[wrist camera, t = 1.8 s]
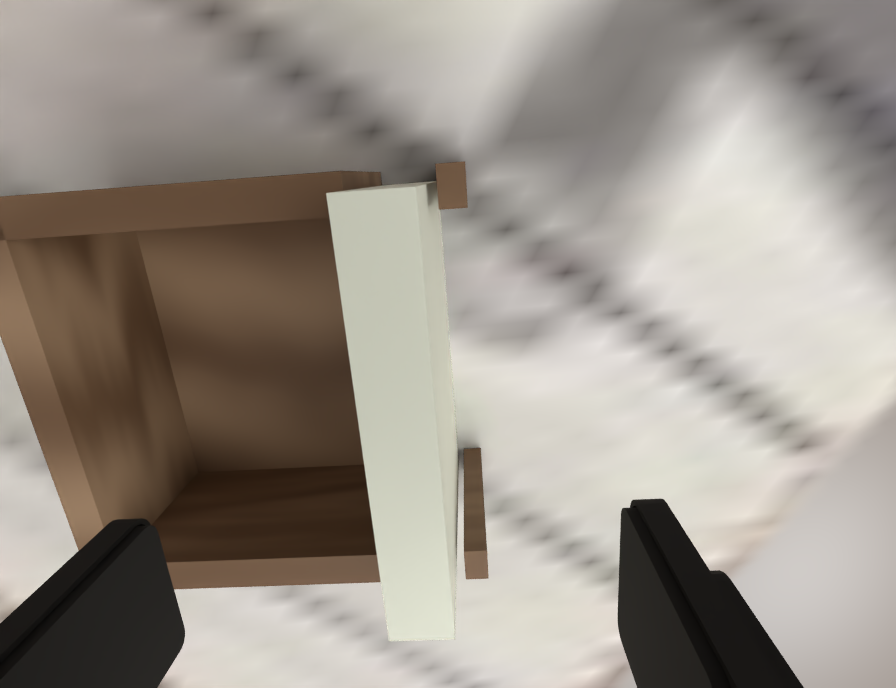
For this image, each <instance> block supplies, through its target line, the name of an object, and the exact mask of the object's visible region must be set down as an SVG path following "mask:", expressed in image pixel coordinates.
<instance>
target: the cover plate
mask: <svg viewBox="0 0 896 688" xmlns="http://www.w3.org/2000/svg"><path fill="white" fill-rule="evenodd" d="M326 196H327V203H328V210H329V217H330V225H331V232H332V239H333V246H334V253H335V260H336V267H337V274H338V282H339V289H340V296H341V303H342V310H343V317H344V324H345V331H346V339H347V346H348V353H349V360H350V367H351V374H352V381H353V388H354V396H355V403H356V410H357V417H358V424H359V431H360V438H361V445H362V453H363V460H364V467H365V474H366V481H367V488H368V495H369V502H370V510H371V517H372V524H373V531H374V538H375V545H376V552H377V559H378V567H379V574H380V581H381V588H382V595H383V602H384V609H385V616H386V624H387V631H388V638H389V641H415V640H452V639H455V619H456V568H457V518H458V467H459V460H458V446H457V432H456V419H455V405H454V391H453V377H452V364H451V350H450V336H449V323H448V309H447V295H446V281H445V268H444V254H443V240H442V227H441V213H440V210H439V207H438V193H437V181H432V182H418V183H405V184H391V185H383V186H375V187H368V188H361V189H353V190H346V191H338V192H331V193H326Z"/></svg>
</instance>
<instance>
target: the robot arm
mask: <svg viewBox="0 0 896 688" xmlns="http://www.w3.org/2000/svg"><path fill="white" fill-rule="evenodd" d="M618 628H619V633H620V638H621V641H622V644H623V647H624V650H625V653H626V656H627V659H628V662H629V665H630V668H631V671H632V673H633V676H634V679H635V682H636V685H637V688H803V686H802V684H801V683H800V682H799V680H798V679H797V677H796V676H795V674H794V673H793V671H792V670H791V668H790V667H789V665H788V664H787V662H786V661H785V659H784V658H783V656H782V655H781V653H780V652H779V650H778V649H777V647H776V646H775V645H774V643H773V642H772V640H771V639H770V637H769V636H768V634H767V633H766V631H765V630H764V628H763V627H762V625H761V624H760V622H759V621H758V619H757V618H756V616H755V615H754V613H753V612H752V611H751V609H750V608H749V606H748V605H747V603H746V602H745V600H744V599H743V597H742V596H741V594H740V593H739V591H738V590H737V588H736V587H735V585H734V584H733V582H732V581H731V580H730V578H729V577H728V576H727V575H726V574H725V573H724V572H722V571H710V570H709V569H708V567H707V566H706V564H705V563H704V561H703V559H702V558H701V556H700V555H699V553H698V552H697V550H696V548H695V547H694V545H693V544H692V542H691V541H690V539H689V537H688V536H687V534H686V533H685V531H684V530H683V528H682V526H681V525H680V523H679V522H678V520H677V519H676V517H675V515H674V514H673V512H672V511H671V509H670V508H669V506H668V504H667V503H666V502H665V500H663V499H642V500H633V501H632V502H631V506H630V508H623V509H622V511H621V533H620V563H619V593H618ZM184 638H185V629H184V625H183V621H182V617H181V614H180V610H179V606H178V603H177V599H176V595H175V592H174V588H173V585H172V581H171V577H170V574H169V570H168V566H167V563H166V559H165V555H164V552H163V548H162V545H161V541H160V537H159V534H158V531H157V528H156V527H155V526H152V525H151V524H150V522H149V521H148V520H147V519H143V518H139V519H117V520H113V521H111V522H110V523H108V524H107V525H106V526H105V527H104V528H103V529H102V530H101V531H100V532H99V533H98V534H97V535H95V536H94V537H93V538H92V539H91V540H90V541H89V542H88V543H87V544H86V545H85V546H84V547H83V548H81V549H80V550H79V551H78V552H77V553H76V554H75V555H74V556H73V557H72V558H71V559H70V560H68V561H67V562H66V563H65V564H64V565H63V566H62V567H61V568H60V569H59V570H58V571H57V572H56V573H54V574H53V575H52V576H51V577H50V578H49V579H48V580H47V581H46V582H45V583H44V584H43V585H41V586H40V587H39V588H38V589H37V590H36V591H35V592H34V593H33V594H32V595H31V596H30V597H29V598H27V599H26V600H25V601H24V602H23V603H22V604H21V605H20V606H19V607H18V608H17V609H16V610H14V611H13V612H12V613H11V614H10V615H9V616H8V617H7V618H6V619H5V620H4V621H3V622H2V623H0V688H157V687H158V686H159V684H160V682H161V681H162V679H163V678H164V676H165V674H166V673H167V671H168V670H169V668H170V666H171V665H172V663H173V662H174V660H175V658H176V657H177V655H178V654H179V652H180V650H181V648H182V646H183V643H184Z"/></svg>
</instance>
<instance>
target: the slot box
mask: <svg viewBox="0 0 896 688" xmlns="http://www.w3.org/2000/svg"><path fill="white" fill-rule="evenodd" d="M435 166H436V179H437V193H438V207H439V210H440V209H454V208H468V207H467V189H466V172H465V162H453V163H439V164H435ZM375 186H382V183H381V173H380V172H357V171H333V172H320V173H307V174H294V175H280V176H267V177H254V178H241V179H227V180H214V181H201V182H188V183H175V184H161V185H148V186H135V187H122V188H108V189H95V190H82V191H69V192H55V193H42V194H29V195H16V196H2V197H0V336H1V339H2V342H3V344H4V347H5V350H6V353H7V355H8V358H9V361H10V364H11V366H12V369H13V372H14V375H15V377H16V380H17V383H18V386H19V388H20V391H21V394H22V397H23V399H24V402H25V405H26V407H27V410H28V413H29V416H30V418H31V421H32V424H33V427H34V429H35V432H36V435H37V438H38V440H39V443H40V446H41V449H42V451H43V454H44V457H45V459H46V462H47V465H48V468H49V470H50V473H51V476H52V479H53V481H54V484H55V487H56V490H57V492H58V495H59V498H60V501H61V503H62V506H63V509H64V511H65V514H66V517H67V520H68V522H69V525H70V528H71V531H72V533H73V536H74V539H75V542H76V544H77V547H78V550H80V549H81V548H83V547H84V546H85V545H86V544H87V543H88V542H89V541H90V540H91V539H92V538H93V537H94V536H95V535H97V534H98V533H99V532H100V531H101V530H102V529H103V528H104V527H105V526H106V525H107V524H108V523H110V522H111V521H113V520H117V519H139V518H143V519H147V520H148V521H149V522H150V524H151V525H152V526H155V527H156V528H157V531H158V534H159V537H160V541H161V545H162V548H163V552H164V555H165V559H166V563H167V566H168V570H169V574H170V577H171V581H172V585H173V588H174V589H193V588H222V587H252V586H281V585H310V584H339V583H369V582H381V581H380V574H379V567H378V559H377V552H376V545H375V538H374V531H373V524H372V517H371V510H370V502H369V495H368V488H367V481H366V474H365V467H364V460H363V453H362V445H361V438H360V431H359V424H358V417H357V410H356V403H355V396H354V388H353V381H352V374H351V367H350V360H349V353H348V346H347V339H346V331H345V324H344V317H343V310H342V303H341V296H340V289H339V282H338V274H337V267H336V260H335V253H334V246H333V239H332V232H331V225H330V217H329V210H328V203H327V196H326V193H331V192H338V191H346V190H353V189H361V188H368V187H375ZM464 559H465V572H466V579H486V578H488V561H487V544H486V528H485V512H484V496H483V479H482V463H481V448H472V449H464Z"/></svg>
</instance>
